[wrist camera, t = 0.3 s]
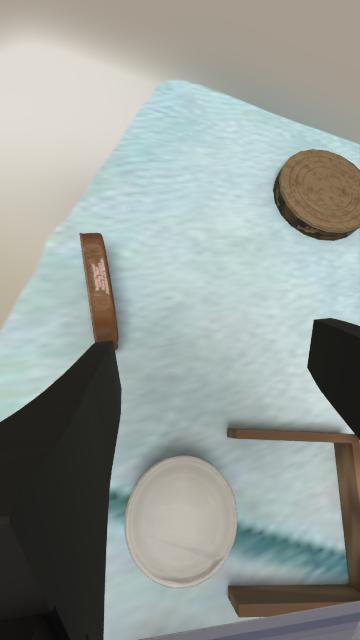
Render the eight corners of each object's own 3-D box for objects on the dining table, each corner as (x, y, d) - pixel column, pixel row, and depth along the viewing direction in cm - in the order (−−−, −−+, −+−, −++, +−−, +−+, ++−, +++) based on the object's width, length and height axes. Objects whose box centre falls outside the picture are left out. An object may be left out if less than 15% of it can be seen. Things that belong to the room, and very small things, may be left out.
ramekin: (140, 582, 32) (141, 611, 27) (115, 470, 35) (112, 478, 30) (237, 541, 35) (254, 560, 30) (206, 439, 38) (217, 441, 33)
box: (359, 595, 35) (382, 613, 31) (228, 597, 33) (238, 617, 30) (340, 433, 40) (358, 434, 37) (227, 428, 38) (236, 429, 35)
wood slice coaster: (270, 231, 49) (278, 219, 46) (274, 155, 54) (281, 140, 52) (364, 250, 50) (377, 239, 48) (358, 174, 56) (370, 160, 53)
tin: (83, 255, 43) (71, 218, 35) (106, 253, 44) (99, 215, 36) (98, 361, 39) (88, 345, 31) (123, 356, 40) (120, 339, 32)
